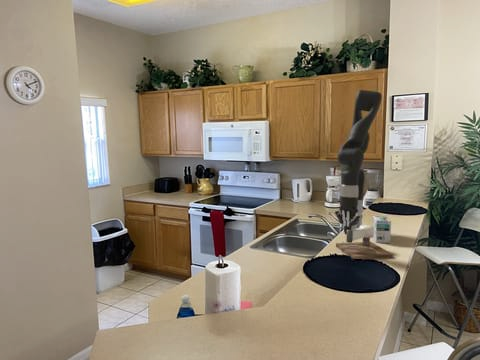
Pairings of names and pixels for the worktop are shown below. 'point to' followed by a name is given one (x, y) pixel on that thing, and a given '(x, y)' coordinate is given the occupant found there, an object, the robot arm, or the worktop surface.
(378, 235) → the light bulb box
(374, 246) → the base
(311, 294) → the worktop surface
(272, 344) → the worktop surface
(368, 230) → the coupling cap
